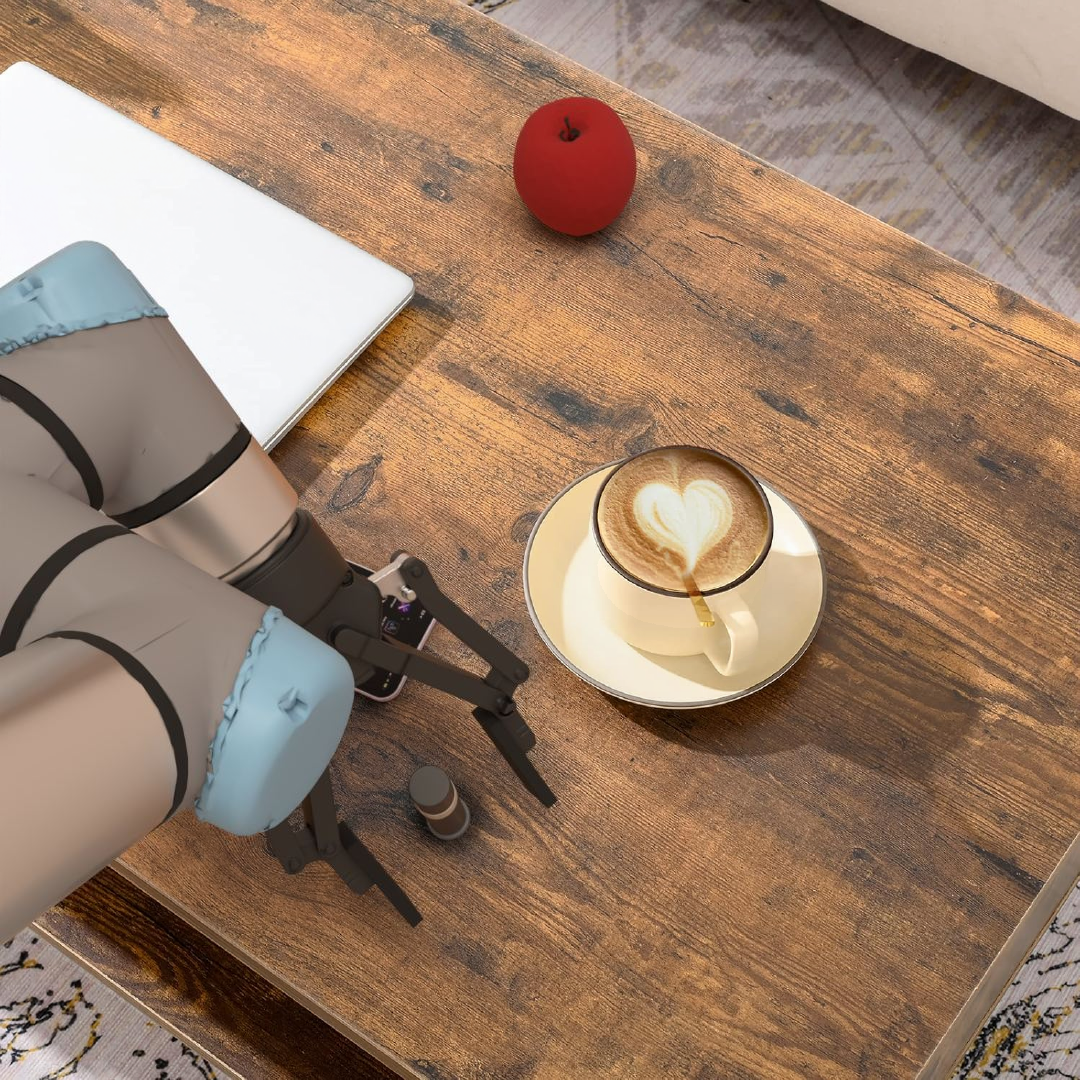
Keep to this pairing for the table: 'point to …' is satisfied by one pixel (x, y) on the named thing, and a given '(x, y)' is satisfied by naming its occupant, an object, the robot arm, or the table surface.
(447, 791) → the pepper grinder
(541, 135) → the apple
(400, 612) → the smartphone
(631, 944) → the table surface
